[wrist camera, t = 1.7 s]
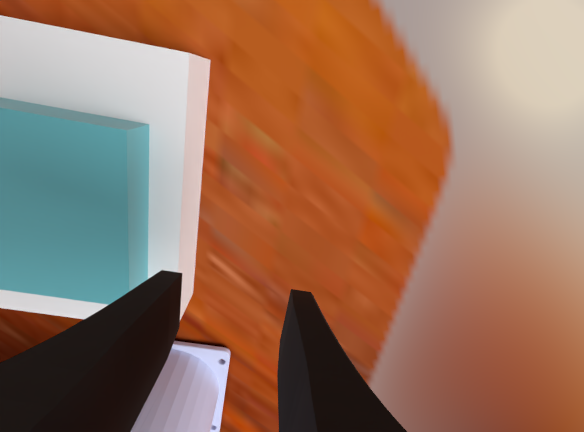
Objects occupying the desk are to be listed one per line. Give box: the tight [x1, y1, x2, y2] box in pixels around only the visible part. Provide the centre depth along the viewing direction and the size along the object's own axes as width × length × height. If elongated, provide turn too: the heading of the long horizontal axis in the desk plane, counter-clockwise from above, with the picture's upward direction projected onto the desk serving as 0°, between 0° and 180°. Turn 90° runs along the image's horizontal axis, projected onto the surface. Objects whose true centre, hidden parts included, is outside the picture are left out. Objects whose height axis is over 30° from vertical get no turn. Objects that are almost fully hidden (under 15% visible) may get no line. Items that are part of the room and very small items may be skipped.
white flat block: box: [0, 15, 210, 320], centre depth 16 cm, size 14×12×4 cm
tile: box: [0, 97, 149, 305], centre depth 14 cm, size 8×6×2 cm
